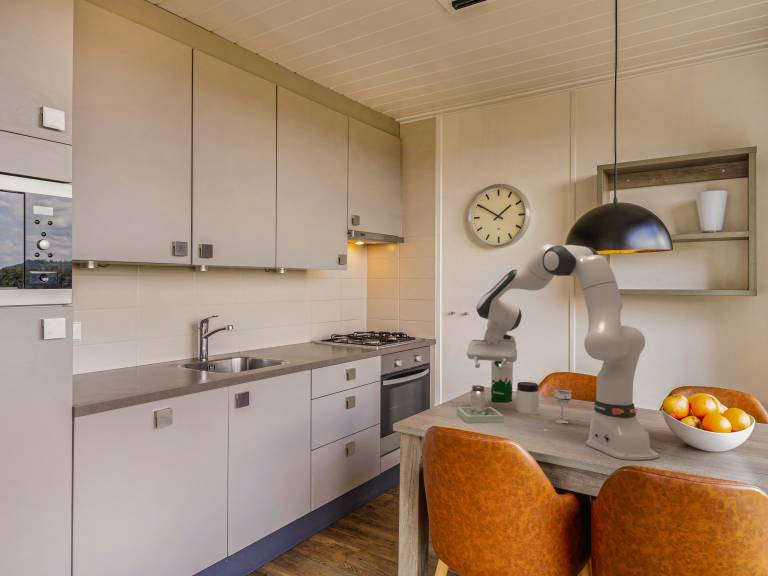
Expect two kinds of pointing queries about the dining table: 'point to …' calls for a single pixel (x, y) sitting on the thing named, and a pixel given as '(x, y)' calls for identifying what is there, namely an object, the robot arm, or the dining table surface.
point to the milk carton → (501, 382)
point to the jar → (527, 398)
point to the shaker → (477, 401)
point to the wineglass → (562, 400)
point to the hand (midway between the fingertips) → (488, 367)
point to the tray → (489, 418)
